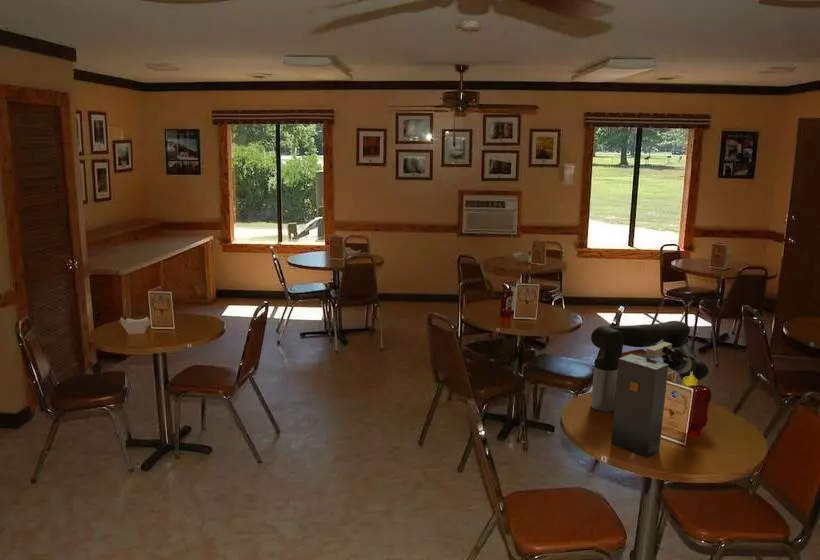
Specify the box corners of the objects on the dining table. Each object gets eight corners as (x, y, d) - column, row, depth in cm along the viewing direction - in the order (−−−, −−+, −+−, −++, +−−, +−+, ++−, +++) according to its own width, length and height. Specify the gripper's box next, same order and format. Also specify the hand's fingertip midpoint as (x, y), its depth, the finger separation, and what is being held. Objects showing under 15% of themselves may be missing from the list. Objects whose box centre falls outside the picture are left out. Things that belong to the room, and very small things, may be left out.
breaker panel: (623, 437, 241) (630, 353, 234) (659, 451, 230) (668, 364, 223) (610, 444, 235) (617, 358, 228) (646, 459, 225) (655, 370, 218)
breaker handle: (663, 349, 238) (664, 341, 237) (671, 351, 235) (672, 343, 235) (646, 356, 230) (646, 348, 229) (654, 358, 228) (654, 350, 227)
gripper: (663, 346, 249) (644, 332, 237) (699, 356, 239) (681, 342, 227) (656, 365, 248) (637, 352, 237) (692, 375, 238) (674, 362, 226)
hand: (659, 347), depth 232 cm, fingers closed on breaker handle, 3 cm apart
